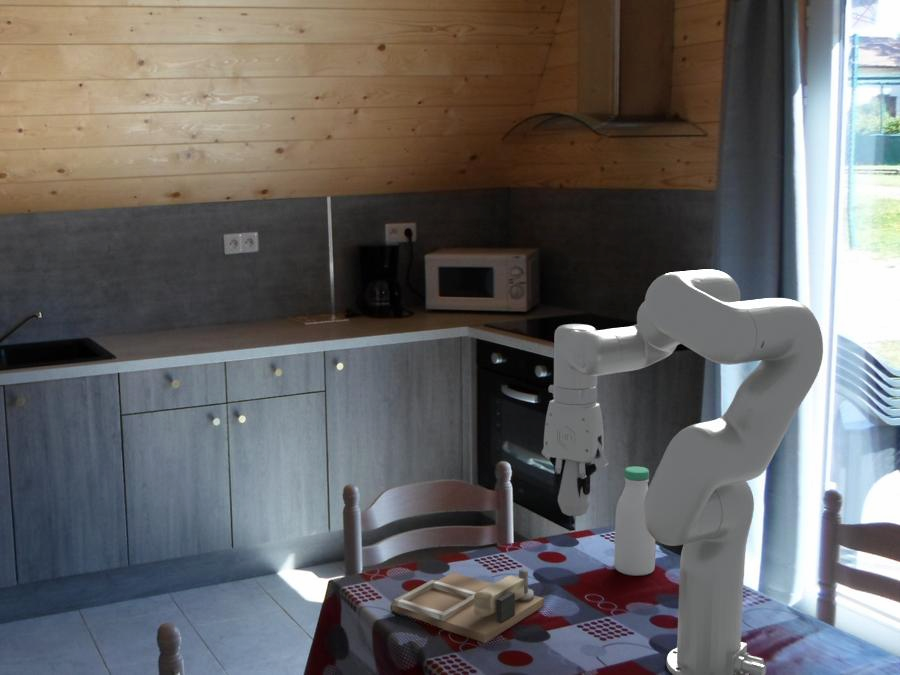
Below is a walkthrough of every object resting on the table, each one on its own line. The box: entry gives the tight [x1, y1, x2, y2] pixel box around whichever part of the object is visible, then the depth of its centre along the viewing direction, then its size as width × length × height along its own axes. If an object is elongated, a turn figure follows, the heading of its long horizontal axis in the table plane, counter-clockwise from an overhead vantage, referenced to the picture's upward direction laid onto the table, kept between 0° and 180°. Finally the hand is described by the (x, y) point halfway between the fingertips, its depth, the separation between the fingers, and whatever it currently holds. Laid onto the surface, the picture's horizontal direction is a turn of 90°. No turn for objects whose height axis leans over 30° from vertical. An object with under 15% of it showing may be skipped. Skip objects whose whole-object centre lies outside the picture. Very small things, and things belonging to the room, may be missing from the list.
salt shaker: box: [557, 460, 591, 517], centre depth 189 cm, size 6×6×13 cm
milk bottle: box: [613, 465, 657, 577], centre depth 203 cm, size 8×8×20 cm
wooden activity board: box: [391, 568, 545, 644], centre depth 186 cm, size 20×18×6 cm
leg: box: [474, 574, 524, 616], centre depth 182 cm, size 12×3×3 cm, turn 142°
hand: (573, 495), depth 189 cm, fingers closed on salt shaker, 3 cm apart
